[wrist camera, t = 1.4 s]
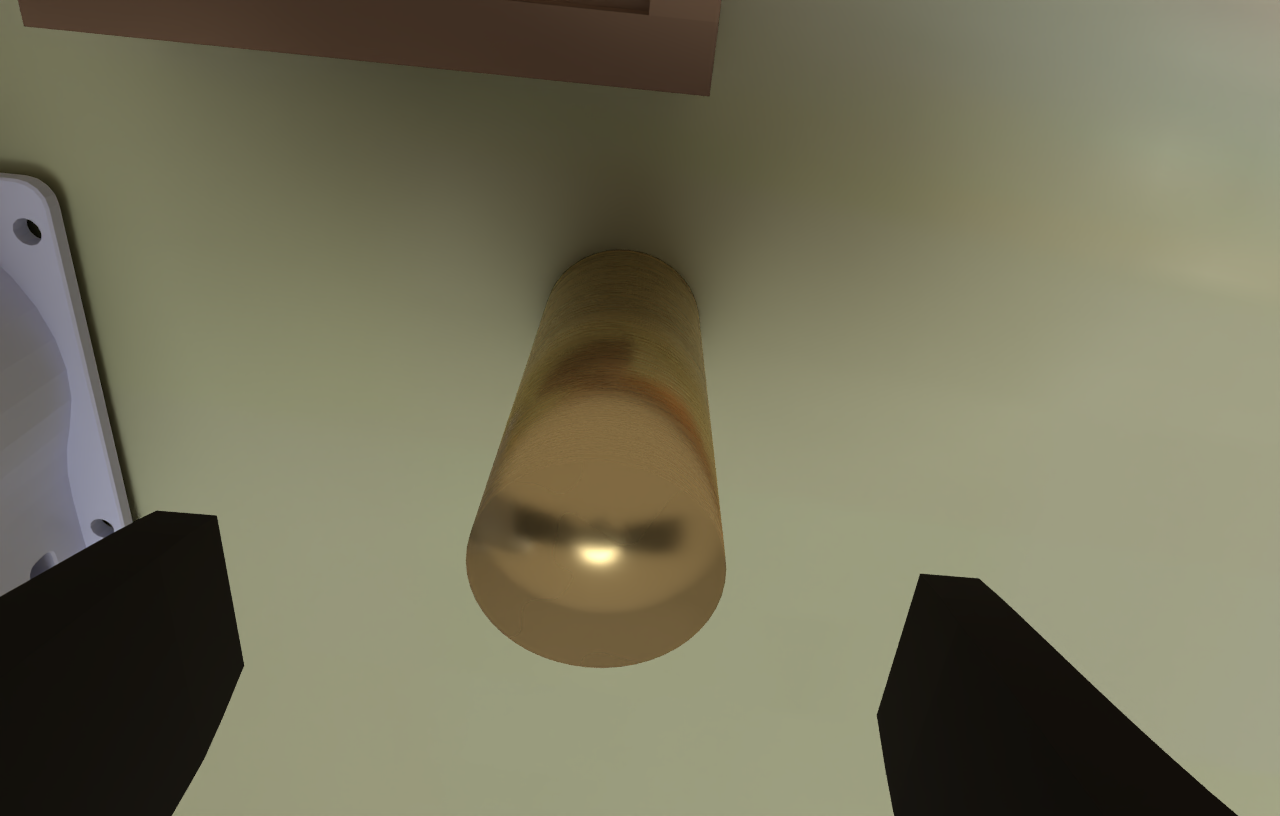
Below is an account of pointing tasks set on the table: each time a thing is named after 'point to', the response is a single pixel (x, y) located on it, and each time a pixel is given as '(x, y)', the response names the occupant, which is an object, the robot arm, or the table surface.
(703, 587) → the peg
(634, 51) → the box
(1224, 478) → the table surface
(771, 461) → the table surface
